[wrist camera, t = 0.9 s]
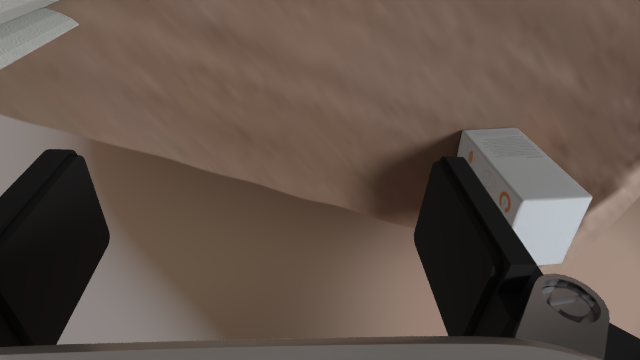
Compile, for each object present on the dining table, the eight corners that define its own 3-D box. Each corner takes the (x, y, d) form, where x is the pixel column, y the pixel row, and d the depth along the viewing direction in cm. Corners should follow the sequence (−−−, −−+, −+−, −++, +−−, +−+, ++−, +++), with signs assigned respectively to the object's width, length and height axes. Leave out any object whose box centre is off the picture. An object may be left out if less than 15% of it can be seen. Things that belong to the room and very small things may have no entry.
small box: (500, 185, 48) (562, 265, 37) (449, 188, 47) (497, 270, 37) (518, 125, 43) (595, 197, 32) (461, 128, 43) (520, 201, 32)
